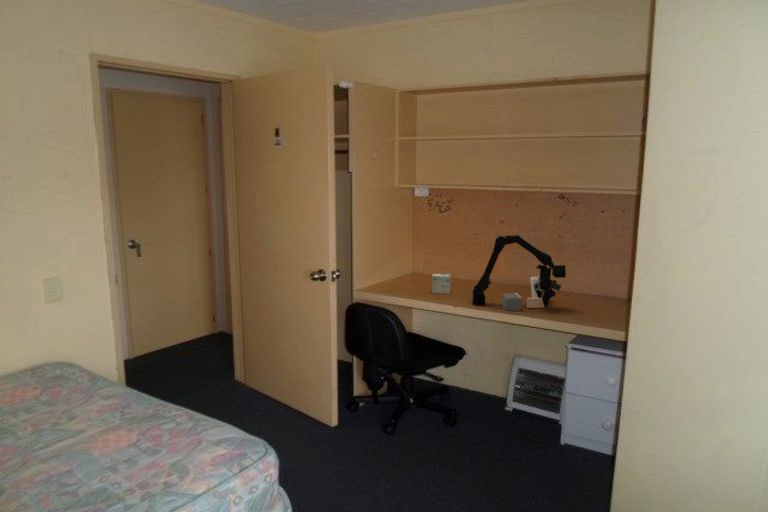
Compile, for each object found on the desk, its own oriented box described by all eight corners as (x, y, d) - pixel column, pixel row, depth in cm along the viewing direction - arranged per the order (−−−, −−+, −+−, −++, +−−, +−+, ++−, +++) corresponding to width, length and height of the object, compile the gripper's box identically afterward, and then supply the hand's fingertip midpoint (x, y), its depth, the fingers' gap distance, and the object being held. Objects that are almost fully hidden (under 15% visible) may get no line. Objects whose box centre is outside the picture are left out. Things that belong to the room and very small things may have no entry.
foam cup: (528, 302, 305) (529, 279, 303) (530, 298, 314) (531, 276, 312) (546, 303, 302) (547, 280, 300) (547, 299, 311) (548, 277, 308)
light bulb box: (450, 291, 330) (450, 273, 328) (450, 294, 324) (450, 276, 322) (432, 290, 331) (432, 273, 329) (432, 293, 325) (432, 275, 323)
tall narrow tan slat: (527, 307, 293) (527, 298, 292) (526, 306, 295) (526, 297, 294) (545, 307, 293) (546, 298, 292) (544, 306, 295) (545, 297, 294)
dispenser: (505, 310, 289) (506, 297, 287) (501, 305, 299) (501, 292, 297) (520, 310, 289) (521, 297, 288) (515, 305, 299) (516, 292, 298)
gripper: (566, 280, 282) (564, 310, 285) (554, 273, 301) (552, 300, 303) (544, 280, 282) (543, 310, 285) (534, 273, 300) (532, 300, 303)
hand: (543, 305), depth 294 cm, fingers open, 7 cm apart
